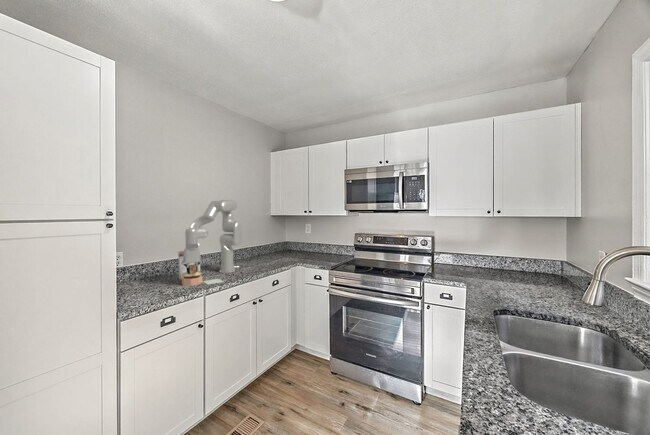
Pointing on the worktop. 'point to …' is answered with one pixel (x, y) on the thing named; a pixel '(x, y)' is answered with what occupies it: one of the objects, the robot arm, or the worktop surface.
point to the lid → (192, 272)
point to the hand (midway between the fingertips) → (192, 272)
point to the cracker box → (181, 267)
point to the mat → (213, 281)
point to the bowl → (191, 280)
